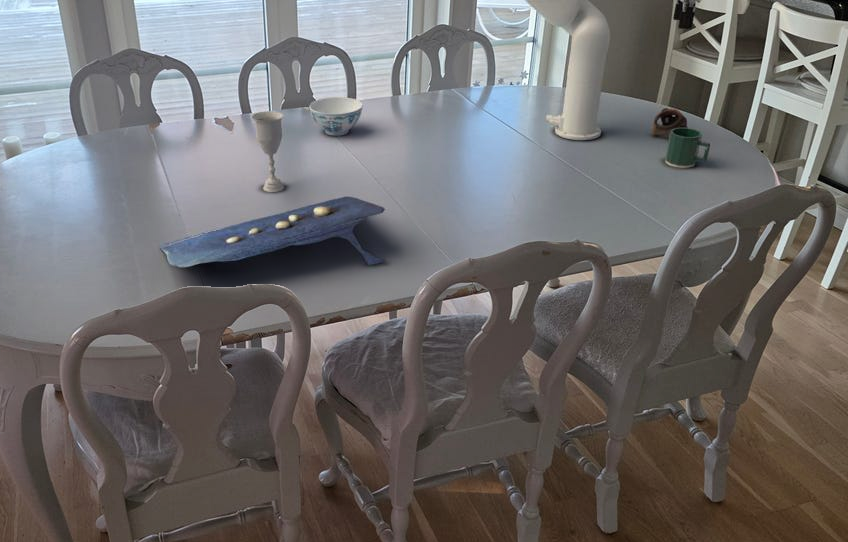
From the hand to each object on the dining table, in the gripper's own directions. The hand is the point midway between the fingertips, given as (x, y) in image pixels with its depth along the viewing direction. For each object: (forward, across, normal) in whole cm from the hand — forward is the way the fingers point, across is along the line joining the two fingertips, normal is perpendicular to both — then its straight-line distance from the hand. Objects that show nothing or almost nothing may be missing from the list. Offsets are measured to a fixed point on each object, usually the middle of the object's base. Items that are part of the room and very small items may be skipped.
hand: (682, 24), depth 201 cm
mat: (+31, -83, +86) cm, 123 cm away
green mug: (+30, -20, -4) cm, 36 cm away
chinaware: (+31, -10, +90) cm, 96 cm away
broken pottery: (+31, +3, -2) cm, 31 cm away
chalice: (+31, -51, +96) cm, 113 cm away
